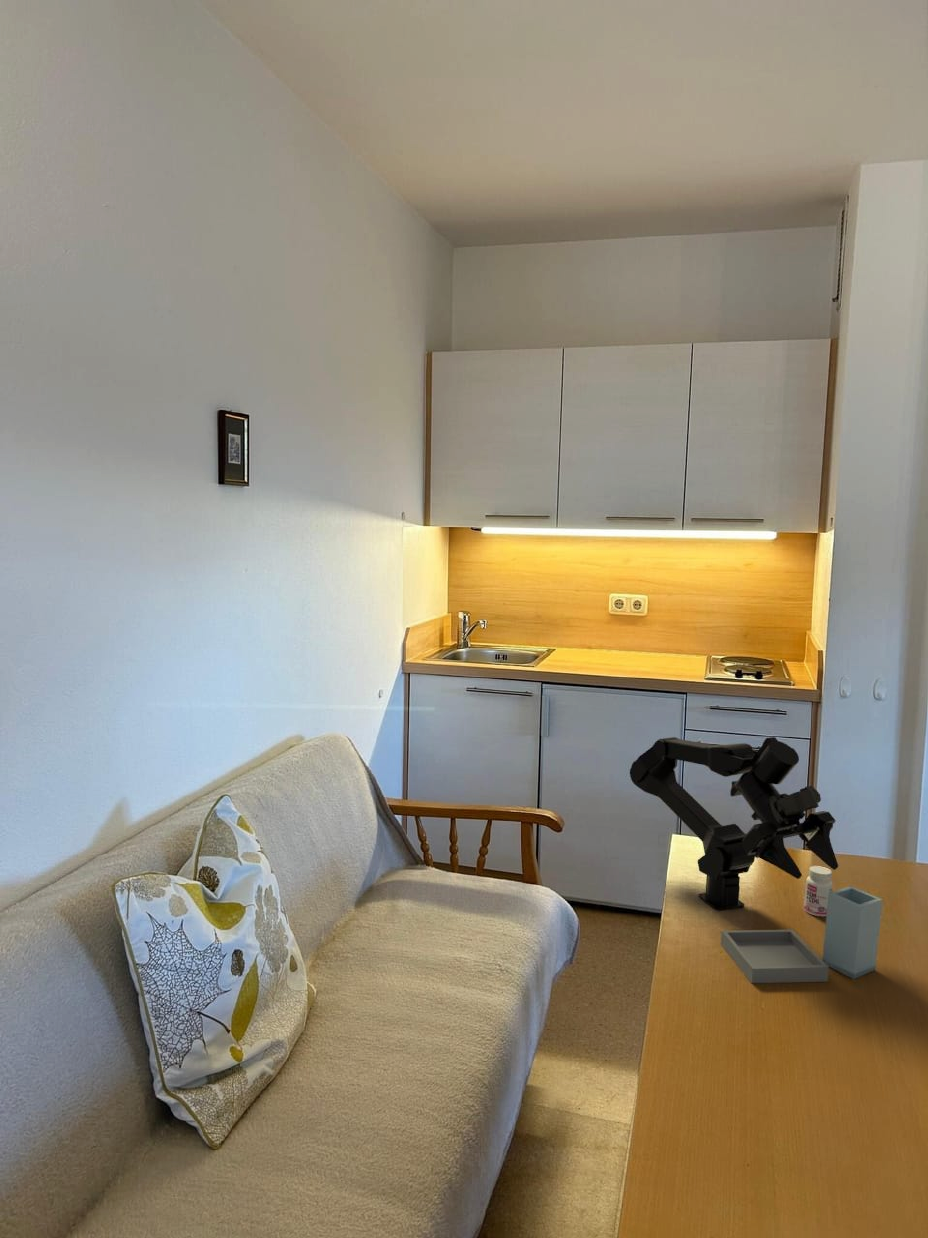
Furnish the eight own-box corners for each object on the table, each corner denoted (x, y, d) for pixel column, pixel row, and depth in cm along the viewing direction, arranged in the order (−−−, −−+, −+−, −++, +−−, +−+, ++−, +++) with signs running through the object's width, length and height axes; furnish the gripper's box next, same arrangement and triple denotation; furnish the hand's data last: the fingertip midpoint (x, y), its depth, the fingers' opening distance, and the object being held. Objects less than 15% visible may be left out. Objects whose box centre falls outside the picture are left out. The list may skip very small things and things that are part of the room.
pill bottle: (801, 913, 172) (805, 871, 171) (805, 904, 177) (808, 863, 176) (828, 919, 170) (832, 877, 169) (831, 910, 174) (835, 868, 173)
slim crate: (822, 963, 154) (828, 893, 152) (843, 954, 157) (850, 886, 155) (853, 979, 149) (860, 907, 147) (875, 970, 152) (882, 899, 150)
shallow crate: (720, 944, 159) (721, 930, 159) (790, 943, 160) (792, 929, 160) (751, 983, 146) (752, 968, 146) (827, 981, 148) (829, 967, 147)
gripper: (750, 778, 156) (806, 854, 146) (823, 766, 165) (880, 837, 155) (719, 817, 163) (771, 892, 153) (791, 804, 172) (844, 874, 162)
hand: (818, 872), depth 156 cm, fingers open, 9 cm apart
